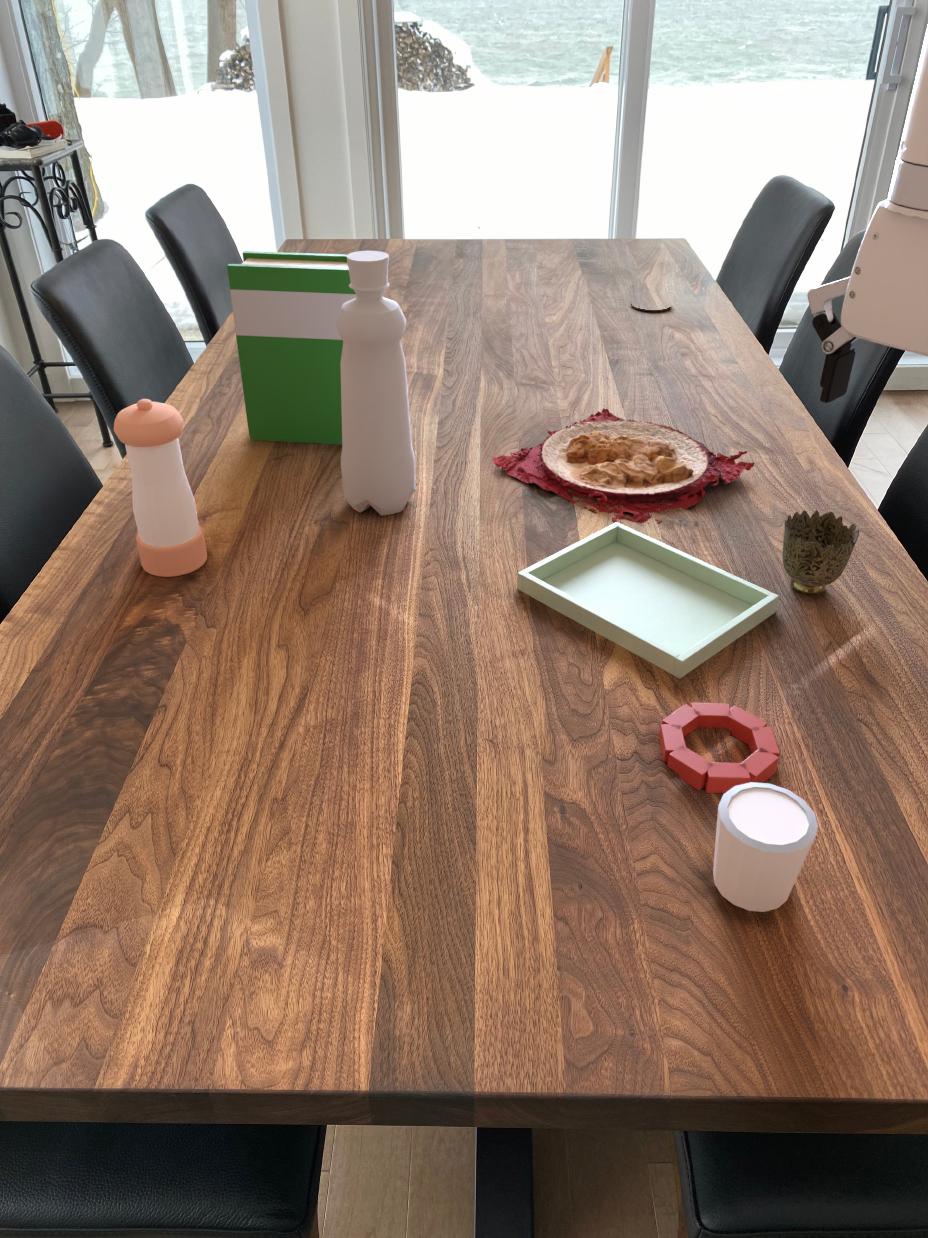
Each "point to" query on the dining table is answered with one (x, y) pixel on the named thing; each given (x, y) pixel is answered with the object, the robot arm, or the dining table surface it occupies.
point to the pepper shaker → (160, 490)
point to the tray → (648, 597)
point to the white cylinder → (761, 844)
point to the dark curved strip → (649, 310)
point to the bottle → (374, 392)
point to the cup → (816, 550)
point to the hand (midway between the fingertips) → (886, 414)
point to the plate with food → (623, 466)
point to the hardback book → (290, 343)
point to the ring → (712, 773)
